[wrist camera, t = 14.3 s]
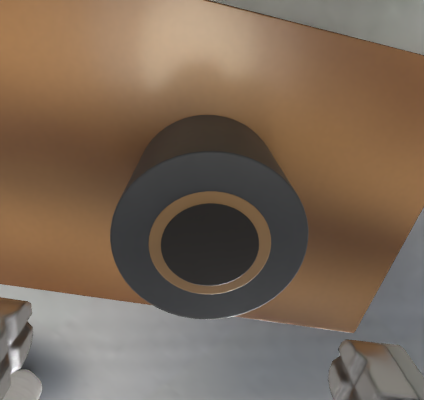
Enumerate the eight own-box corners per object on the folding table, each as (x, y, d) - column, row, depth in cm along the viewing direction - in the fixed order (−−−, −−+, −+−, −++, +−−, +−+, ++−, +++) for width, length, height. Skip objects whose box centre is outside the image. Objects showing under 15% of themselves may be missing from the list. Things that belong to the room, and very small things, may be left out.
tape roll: (254, 252, 16) (275, 332, 12) (129, 230, 15) (101, 307, 11) (294, 131, 13) (340, 175, 9) (147, 99, 13) (119, 130, 8)
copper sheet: (351, 328, 19) (354, 333, 19) (-19, 275, 17) (-24, 281, 16) (489, 73, 13) (497, 74, 13) (-55, -66, 11) (-64, -70, 10)
